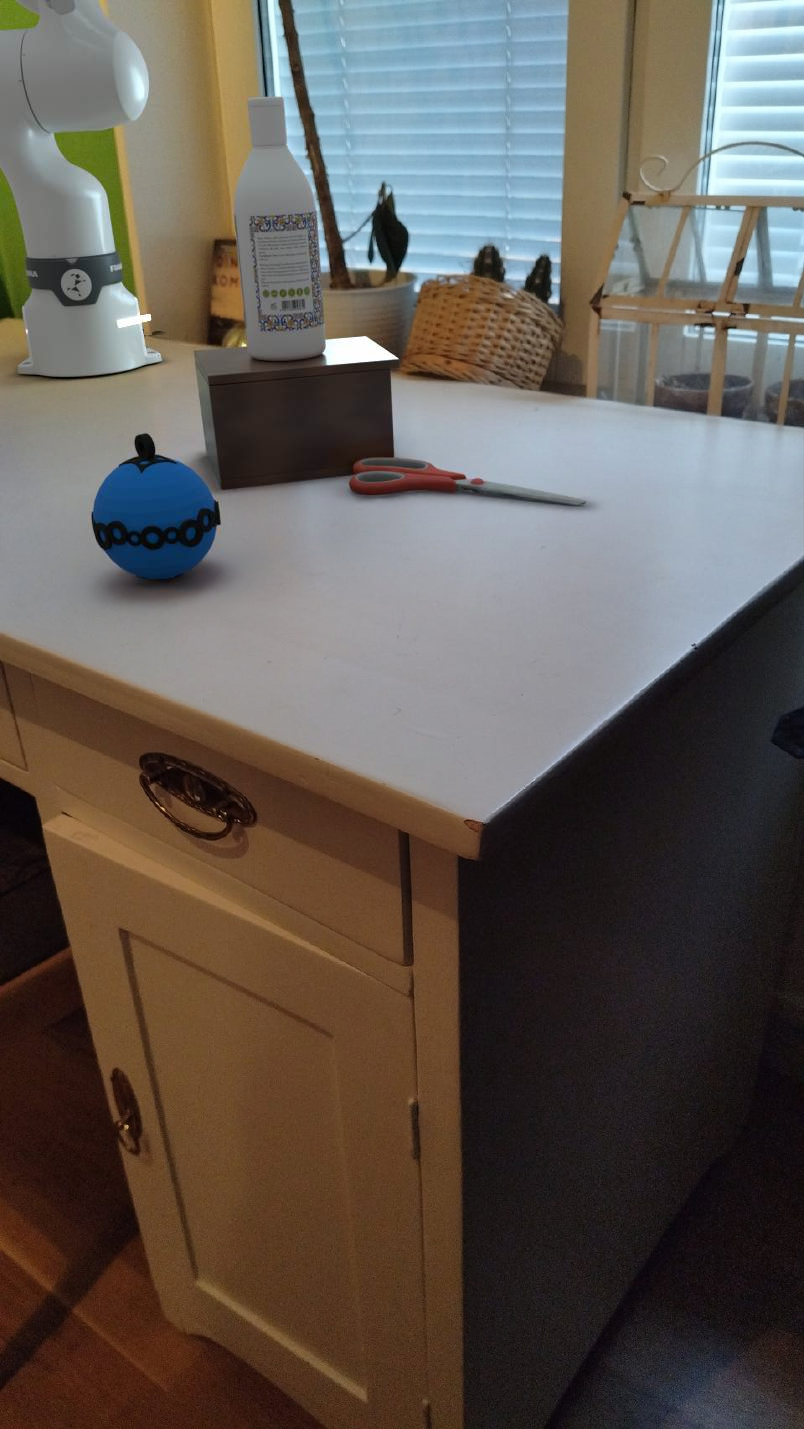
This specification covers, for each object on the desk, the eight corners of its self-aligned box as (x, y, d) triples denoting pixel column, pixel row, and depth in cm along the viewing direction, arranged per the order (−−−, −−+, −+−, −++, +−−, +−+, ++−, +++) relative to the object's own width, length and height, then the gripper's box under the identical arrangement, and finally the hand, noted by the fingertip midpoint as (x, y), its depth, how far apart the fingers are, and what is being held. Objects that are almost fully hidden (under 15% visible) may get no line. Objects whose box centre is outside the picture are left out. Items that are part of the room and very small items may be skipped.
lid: (366, 345, 105) (365, 336, 105) (399, 368, 95) (399, 358, 94) (194, 359, 102) (193, 350, 102) (208, 385, 91) (207, 375, 91)
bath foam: (342, 353, 97) (325, 94, 88) (276, 365, 94) (252, 96, 84) (297, 345, 102) (277, 98, 93) (233, 356, 98) (206, 100, 89)
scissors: (584, 507, 87) (585, 489, 86) (334, 496, 92) (332, 479, 92) (596, 479, 93) (597, 462, 93) (361, 471, 99) (360, 454, 98)
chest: (363, 437, 109) (358, 345, 105) (395, 470, 99) (390, 369, 94) (206, 454, 106) (194, 360, 102) (221, 490, 95) (208, 386, 91)
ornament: (79, 579, 77) (52, 438, 73) (181, 547, 83) (161, 412, 78) (146, 610, 72) (122, 459, 67) (251, 573, 77) (235, 430, 72)
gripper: (31, -207, 82) (109, 4, 91) (16, -185, 98) (83, -7, 107) (-49, -180, 82) (37, 29, 91) (-52, -163, 98) (21, 15, 106)
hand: (61, 10), depth 99 cm, fingers open, 8 cm apart
